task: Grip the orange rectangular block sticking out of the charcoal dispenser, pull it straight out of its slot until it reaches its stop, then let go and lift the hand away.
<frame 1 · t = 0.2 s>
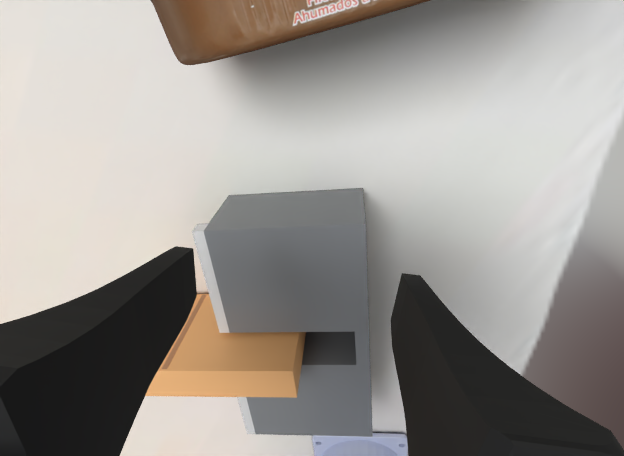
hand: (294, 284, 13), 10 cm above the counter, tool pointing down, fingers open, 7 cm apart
orange rectangular block: (213, 339, 23), point 4 cm above the counter, slide at 0.0 cm
dispenser: (307, 299, 26), on the counter
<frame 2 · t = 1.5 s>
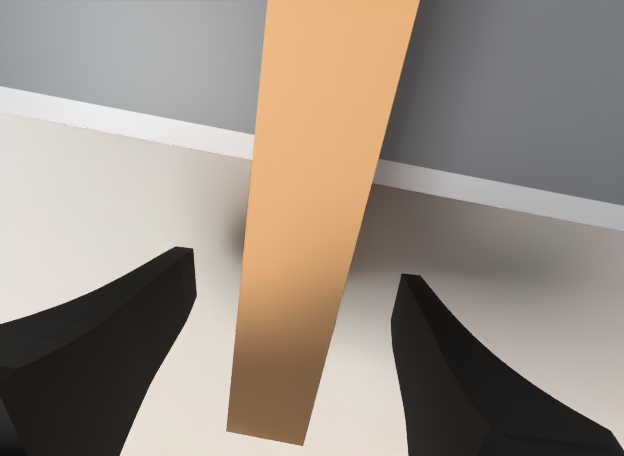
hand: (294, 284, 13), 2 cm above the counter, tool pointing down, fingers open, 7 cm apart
orange rectangular block: (311, 193, 10), point 4 cm above the counter, slide at 0.0 cm
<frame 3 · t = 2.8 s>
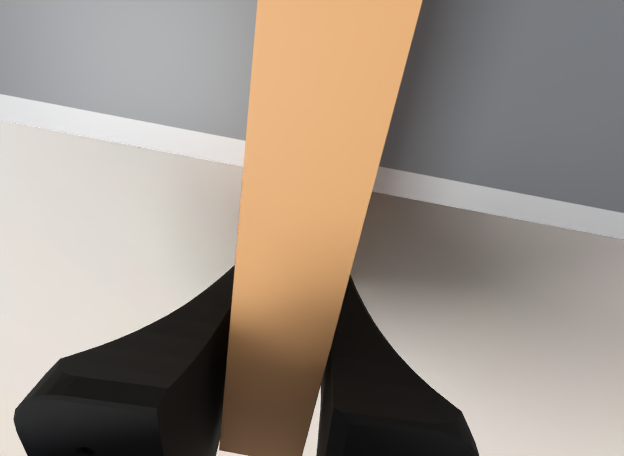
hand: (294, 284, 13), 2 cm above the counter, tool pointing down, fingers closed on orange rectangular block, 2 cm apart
orange rectangular block: (308, 201, 10), point 4 cm above the counter, slide at 0.0 cm, touching gripper
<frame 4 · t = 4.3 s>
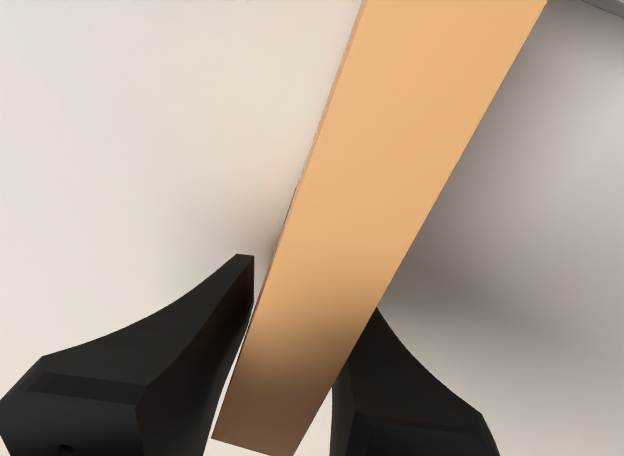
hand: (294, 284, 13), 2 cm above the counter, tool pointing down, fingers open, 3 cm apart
orange rectangular block: (335, 200, 9), point 4 cm above the counter, slide at 4.8 cm, touching gripper
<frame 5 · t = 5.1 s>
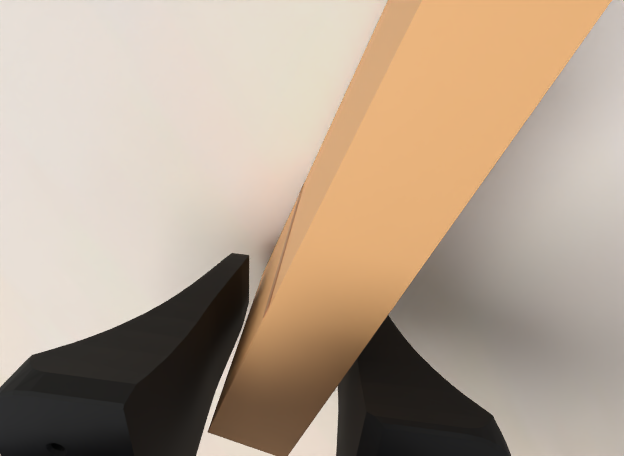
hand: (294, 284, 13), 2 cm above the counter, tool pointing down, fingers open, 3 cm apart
orange rectangular block: (348, 200, 9), point 4 cm above the counter, slide at 7.6 cm, touching gripper
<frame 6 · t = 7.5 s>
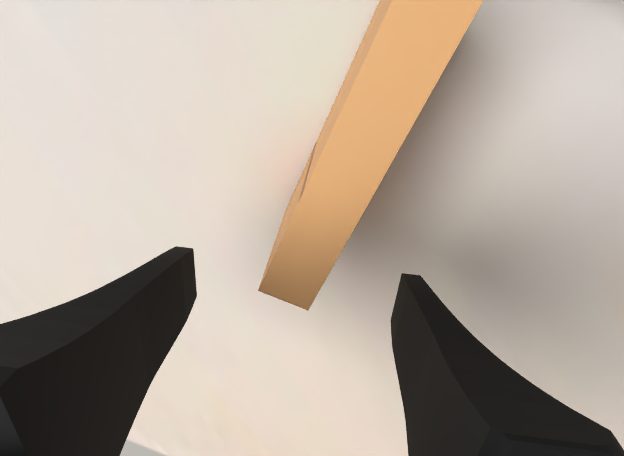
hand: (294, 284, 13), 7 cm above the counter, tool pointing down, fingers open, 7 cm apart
orange rectangular block: (349, 143, 14), point 4 cm above the counter, slide at 7.6 cm
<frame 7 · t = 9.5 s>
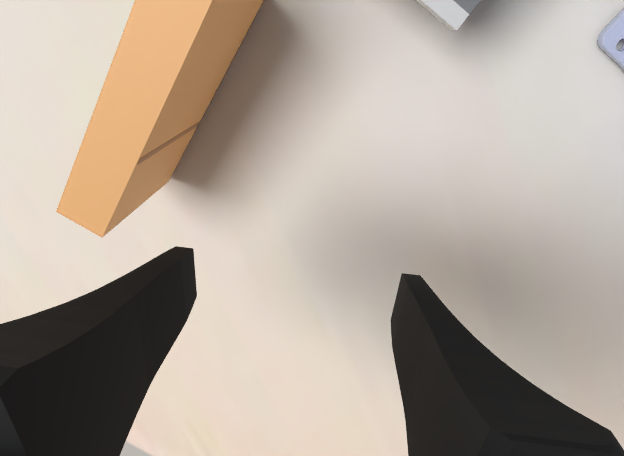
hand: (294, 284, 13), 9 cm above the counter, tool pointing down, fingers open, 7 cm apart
orange rectangular block: (166, 97, 16), point 4 cm above the counter, slide at 7.6 cm
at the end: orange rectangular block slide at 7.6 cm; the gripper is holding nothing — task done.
